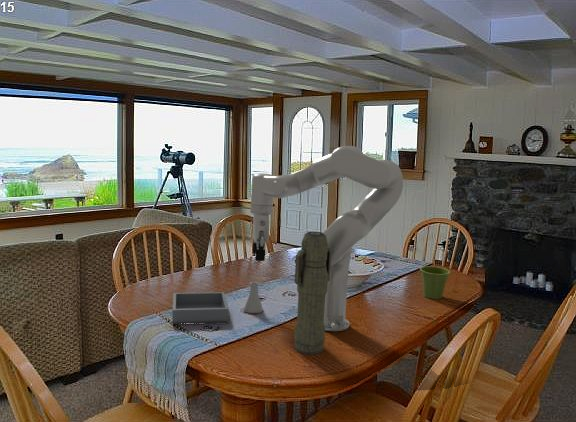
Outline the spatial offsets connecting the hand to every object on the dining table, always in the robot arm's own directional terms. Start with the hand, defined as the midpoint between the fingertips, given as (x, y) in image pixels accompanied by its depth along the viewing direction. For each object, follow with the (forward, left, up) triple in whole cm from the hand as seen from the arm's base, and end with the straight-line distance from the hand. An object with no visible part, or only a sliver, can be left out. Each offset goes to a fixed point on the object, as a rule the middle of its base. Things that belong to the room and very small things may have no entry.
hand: (258, 256), depth 184 cm
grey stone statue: (-35, -11, -20) cm, 41 cm away
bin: (-4, +20, -19) cm, 28 cm away
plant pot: (+10, -74, -20) cm, 77 cm away
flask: (-1, +1, -20) cm, 20 cm away
